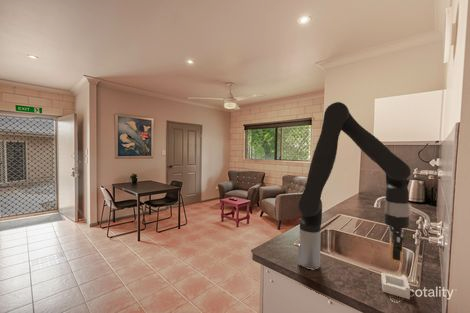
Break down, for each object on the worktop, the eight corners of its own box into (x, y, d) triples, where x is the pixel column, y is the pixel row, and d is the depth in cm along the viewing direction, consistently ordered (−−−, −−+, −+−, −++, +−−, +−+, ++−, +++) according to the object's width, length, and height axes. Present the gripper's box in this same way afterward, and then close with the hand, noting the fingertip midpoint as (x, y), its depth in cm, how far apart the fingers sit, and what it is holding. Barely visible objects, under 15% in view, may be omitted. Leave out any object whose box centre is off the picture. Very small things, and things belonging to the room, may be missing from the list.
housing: (382, 291, 80) (383, 281, 80) (381, 279, 88) (381, 269, 88) (409, 299, 76) (410, 288, 76) (405, 285, 84) (405, 275, 84)
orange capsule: (389, 260, 81) (390, 240, 81) (388, 256, 84) (389, 236, 84) (402, 263, 79) (403, 242, 79) (401, 259, 82) (401, 238, 82)
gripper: (383, 207, 89) (382, 247, 90) (386, 216, 77) (385, 262, 78) (405, 210, 85) (404, 251, 86) (412, 220, 73) (411, 268, 74)
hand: (395, 256), depth 82 cm, fingers closed on orange capsule, 4 cm apart
